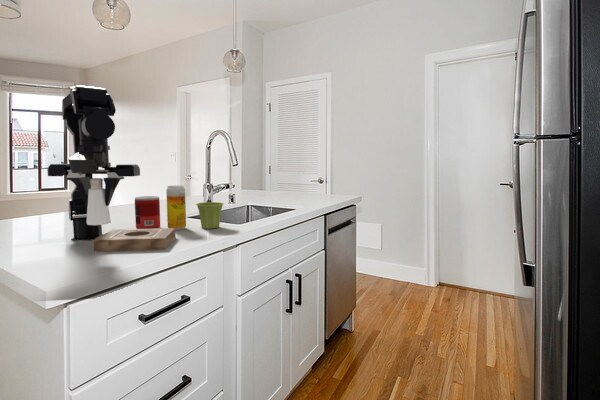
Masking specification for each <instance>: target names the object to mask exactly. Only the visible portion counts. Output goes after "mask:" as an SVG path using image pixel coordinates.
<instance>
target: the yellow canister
mask: <svg viewBox="0 0 600 400" xmlns="http://www.w3.org/2000/svg"><path fill="white" fill-rule="evenodd" d="M165 192H166V193H165V194H166V216H167V219H166V220H167V228H175V231H181V230H185V228H186V227H187V211H186V206H187V205H186V188H185V186H184V185H167V186H166V191H165Z"/></svg>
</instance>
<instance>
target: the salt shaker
mask: <svg viewBox="0 0 600 400" xmlns="http://www.w3.org/2000/svg"><path fill="white" fill-rule="evenodd" d="M90 183H91V184H90V185H91V188H90V189H88V206H87V214H86V215H87V224H88V225H102V226H104V225H107V224H111V223H112V219H111V214H110V208H109V206H106V204H105V187H104V179H103V177H94V178H91V179H90Z"/></svg>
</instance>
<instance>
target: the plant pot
mask: <svg viewBox="0 0 600 400" xmlns="http://www.w3.org/2000/svg"><path fill="white" fill-rule="evenodd" d="M223 205H224V202H215V201H212V202H211V201H206V202H197V203H196V204H195V206H197V210H198V215H199V218H200V227H201V229H206V230H209V229H210V230H212V229H218V228H220V224H221V223H220V222H221V215H222V209H223Z"/></svg>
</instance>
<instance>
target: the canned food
mask: <svg viewBox="0 0 600 400" xmlns="http://www.w3.org/2000/svg"><path fill="white" fill-rule="evenodd" d="M160 201H161V200H160V196H157V195H145V196H136V197H134V213H135V215H134V216H135V218H134V219H135V229H158V228H160V227H161V207H160V206H161V205H160V203H161V202H160Z"/></svg>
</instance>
